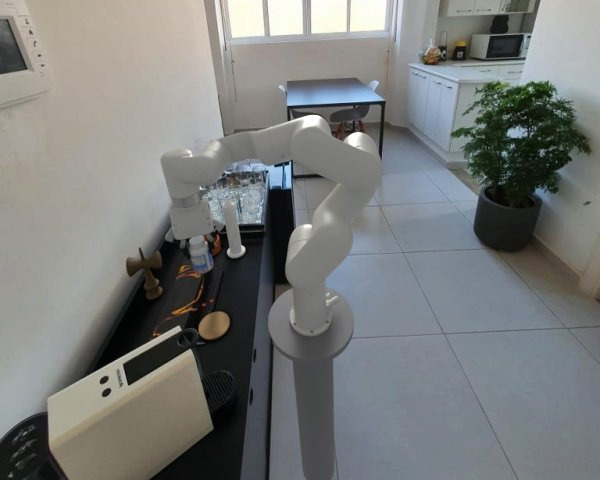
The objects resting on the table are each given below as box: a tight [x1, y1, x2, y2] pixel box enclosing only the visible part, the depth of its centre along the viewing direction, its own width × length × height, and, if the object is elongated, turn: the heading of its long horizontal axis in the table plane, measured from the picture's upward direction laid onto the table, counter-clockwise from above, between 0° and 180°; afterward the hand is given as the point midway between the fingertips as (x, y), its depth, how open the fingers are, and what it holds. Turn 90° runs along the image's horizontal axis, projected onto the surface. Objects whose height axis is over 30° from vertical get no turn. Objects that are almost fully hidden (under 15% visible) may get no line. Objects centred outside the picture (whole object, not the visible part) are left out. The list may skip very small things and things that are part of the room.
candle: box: [221, 196, 246, 259], centre depth 116 cm, size 7×7×25 cm
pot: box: [202, 234, 222, 257], centre depth 122 cm, size 8×8×5 cm
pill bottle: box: [188, 235, 214, 274], centre depth 86 cm, size 6×5×10 cm
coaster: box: [198, 311, 231, 341], centre depth 92 cm, size 9×9×1 cm
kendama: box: [125, 246, 163, 301], centre depth 100 cm, size 6×10×20 cm, turn 110°
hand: (200, 253), depth 85 cm, fingers closed on pill bottle, 5 cm apart
